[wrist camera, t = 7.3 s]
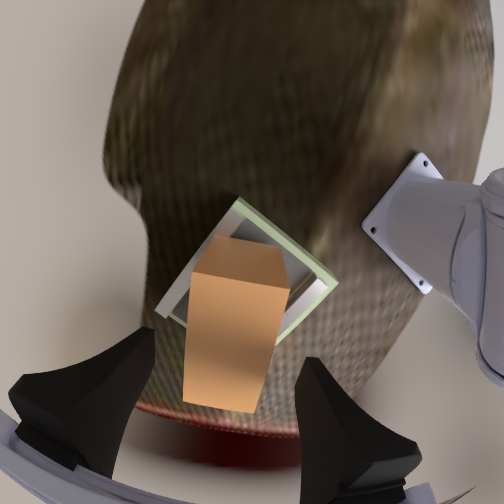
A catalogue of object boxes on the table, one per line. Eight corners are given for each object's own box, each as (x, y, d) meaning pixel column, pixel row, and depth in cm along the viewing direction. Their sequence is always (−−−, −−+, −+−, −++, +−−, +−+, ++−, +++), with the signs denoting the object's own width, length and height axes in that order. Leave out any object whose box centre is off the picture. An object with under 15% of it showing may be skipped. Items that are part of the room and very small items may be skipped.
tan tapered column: (280, 246, 17) (290, 289, 11) (254, 357, 19) (252, 419, 13) (215, 234, 16) (191, 271, 11) (200, 347, 19) (182, 407, 13)
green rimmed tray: (332, 272, 20) (343, 290, 17) (250, 353, 23) (249, 378, 20) (239, 196, 19) (235, 202, 16) (164, 295, 21) (151, 314, 18)
